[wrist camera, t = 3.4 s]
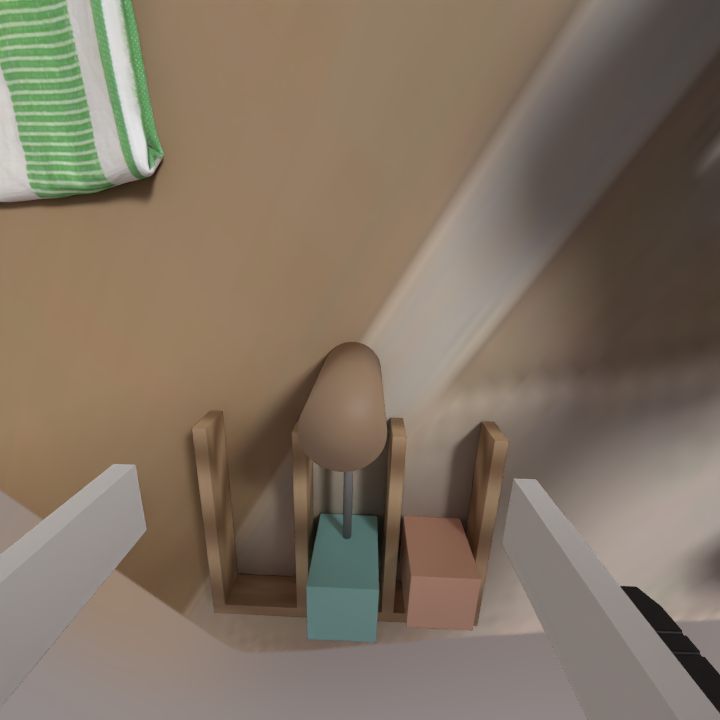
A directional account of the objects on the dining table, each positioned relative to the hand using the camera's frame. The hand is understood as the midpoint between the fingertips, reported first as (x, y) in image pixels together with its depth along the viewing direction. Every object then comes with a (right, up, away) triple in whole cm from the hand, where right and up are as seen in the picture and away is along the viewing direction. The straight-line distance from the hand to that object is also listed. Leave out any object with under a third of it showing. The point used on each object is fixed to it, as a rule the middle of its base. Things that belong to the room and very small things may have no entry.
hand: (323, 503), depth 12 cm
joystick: (0, -4, +17) cm, 17 cm away
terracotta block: (+8, -11, +19) cm, 23 cm away
